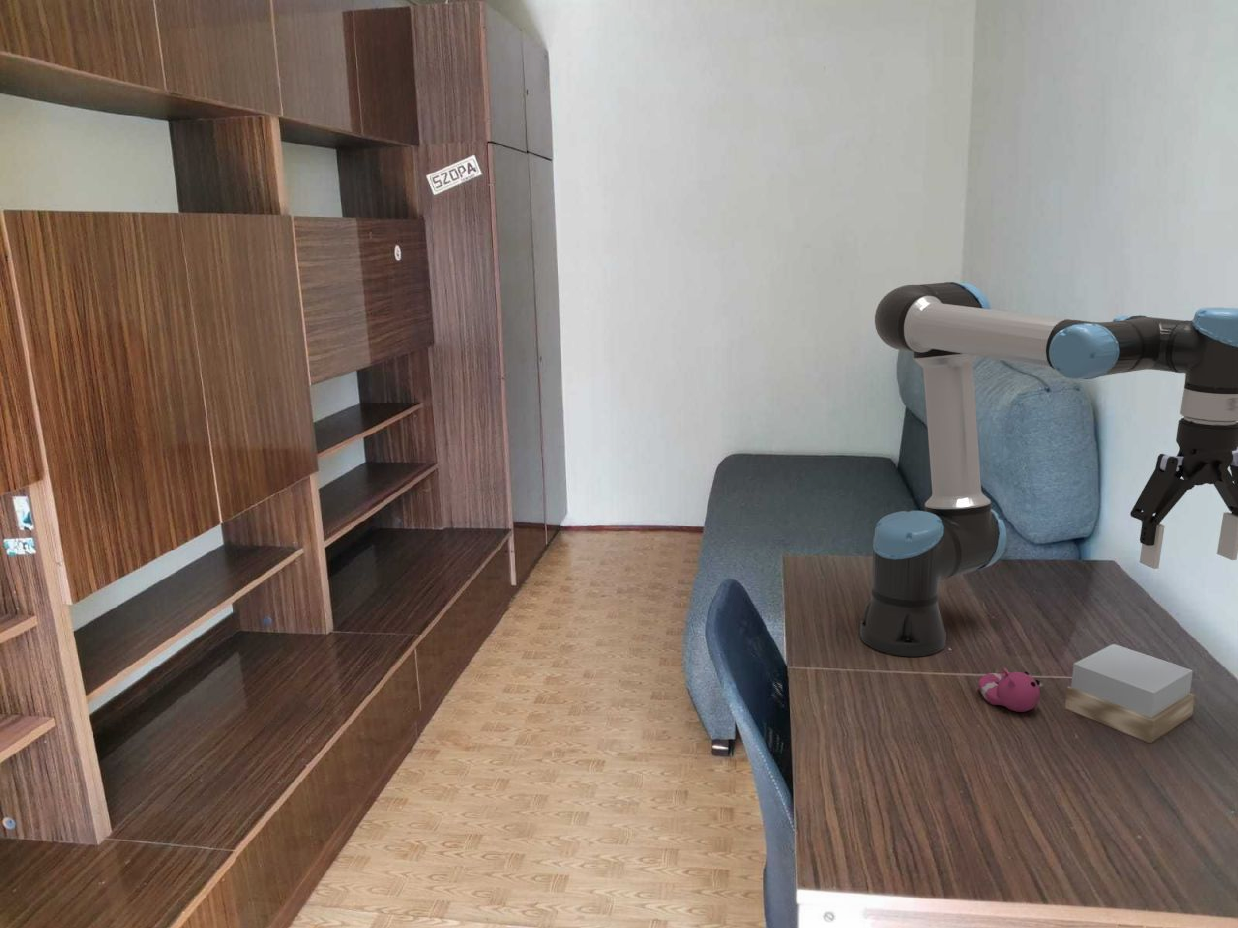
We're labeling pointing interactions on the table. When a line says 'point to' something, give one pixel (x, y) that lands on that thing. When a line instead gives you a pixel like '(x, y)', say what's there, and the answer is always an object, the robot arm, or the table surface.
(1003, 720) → the table surface
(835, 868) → the table surface
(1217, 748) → the table surface
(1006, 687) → the toy
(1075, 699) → the lower slab
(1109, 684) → the upper block
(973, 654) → the table surface
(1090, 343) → the robot arm
